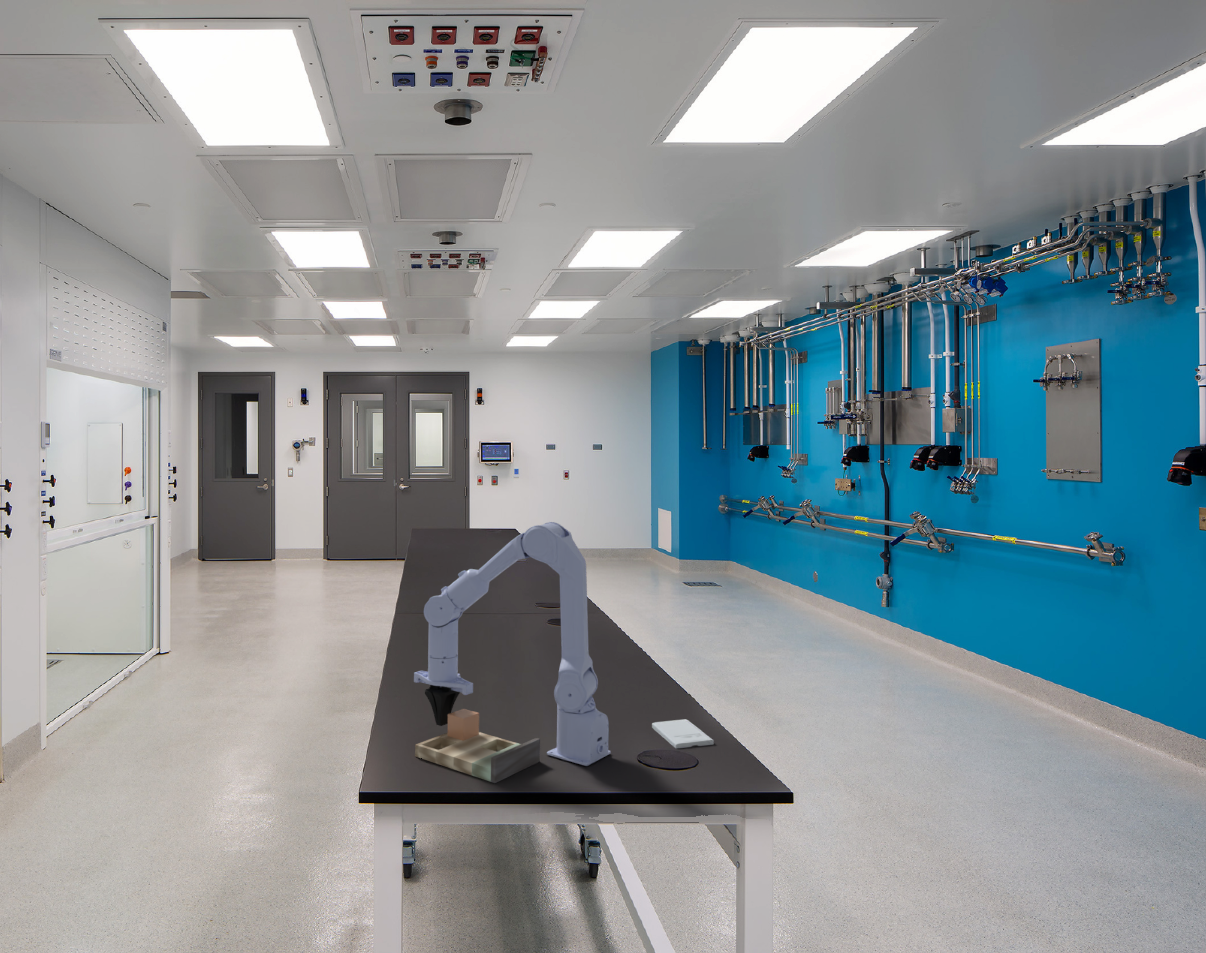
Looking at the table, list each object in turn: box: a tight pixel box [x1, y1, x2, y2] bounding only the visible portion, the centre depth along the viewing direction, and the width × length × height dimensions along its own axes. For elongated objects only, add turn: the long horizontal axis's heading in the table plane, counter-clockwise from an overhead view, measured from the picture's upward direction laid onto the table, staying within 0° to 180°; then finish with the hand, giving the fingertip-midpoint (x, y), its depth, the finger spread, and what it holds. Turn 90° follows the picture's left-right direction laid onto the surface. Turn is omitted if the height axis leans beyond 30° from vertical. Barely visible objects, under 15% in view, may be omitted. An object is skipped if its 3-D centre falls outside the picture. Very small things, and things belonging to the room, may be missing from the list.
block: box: [447, 708, 480, 741], centre depth 149 cm, size 4×4×4 cm
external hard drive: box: [651, 718, 715, 749], centre depth 157 cm, size 2×8×12 cm
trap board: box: [414, 731, 541, 784], centre depth 143 cm, size 20×12×4 cm, turn 55°
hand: (442, 724), depth 152 cm, fingers closed
